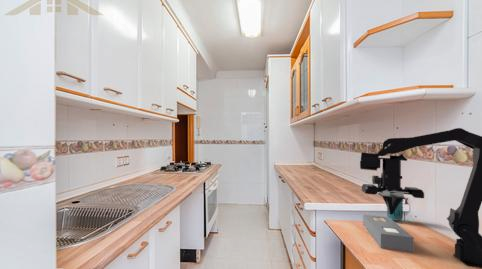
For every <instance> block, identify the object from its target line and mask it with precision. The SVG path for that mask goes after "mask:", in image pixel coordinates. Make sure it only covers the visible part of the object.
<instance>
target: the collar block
mask: <svg viewBox="0 0 482 269" xmlns="http://www.w3.org/2000/svg"><path fill="white" fill-rule="evenodd" d="M373 217H374V218H383V219H384V220H386V221H387V222H384V221H375V220H374V219H373ZM363 225H364V226H365V227H366V229H367V230H368V231H367V230H366V229H365V230H366V231H367V233H368V234H369V233H370V234H371V235H370V234H369V235H370V236H371V238H372V239H373V238H374V239H373V240H374V241H375V243H376V244H377V245H378V246H379V248H381V249H385V250H386V249H388V250H392V251H393V250H395V251H400V252H401V251H403V252H410V253H414V250H415V249H414V248H415V246H414V245H415V244H414V241H415V240H414V239H415V238H414V236H413V235H412V234H410V233H409V232H407V230H405V229H404V228H403V227H401V225H399V224H398V223H397V222H396V221H395V220H394V219H391V218H389V217H387V215H386V216H385V215H376V214H375V215H373V214H362V226H363ZM364 226H363V227H364ZM365 227H364V228H365ZM383 228H392V229H396V230H397V231H398V232H399V233H392V232H386V231H385V230H384V229H383Z"/></svg>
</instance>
